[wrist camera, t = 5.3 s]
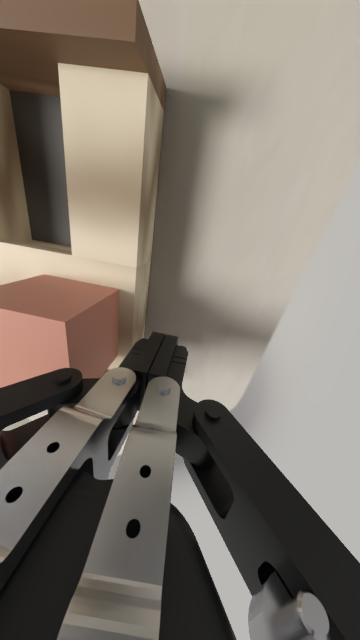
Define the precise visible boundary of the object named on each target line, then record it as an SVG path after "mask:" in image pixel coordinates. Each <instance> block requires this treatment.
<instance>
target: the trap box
mask: <svg viewBox="0 0 360 640" xmlns="http://www.w3.org/2000/svg"><path fill="white" fill-rule="evenodd" d="M165 97H166V85H165V82H164V78H163V75H162V72H161V69H160V66H159V63H158V60H157V57H156V54H155V51H154V47H153V44H152V41H151V38H150V35H149V32H148V29H147V26H146V23H145V20H144V16H143V13H142V10H141V7H140V4H139V1H138V0H0V285H3V284H7V283H11V282H15V281H19V280H23V279H27V278H31V277H35V276H39V275H43V274H46V275H51V276H56V277H61V278H66V279H71V280H76V281H81V282H86V283H91V284H96V285H101V286H106V287H111V288H116V289H119V324H118V356H117V357H116V358H115V360H114V361H113V362H112V363H111V365H110V366H109V367H108V369H107V370H106V371H105V373H106V372H107V371H109V370H111V369H113V368H118V367H119V365H120V364H121V363H122V361H123V360H124V358H125V357H126V355H127V354H128V353H129V351H130V350H131V348H132V347H133V345H134V344H135V343H136V342H137V341H139V340H140V339H142V338H144V333H145V322H146V310H147V299H148V288H149V277H150V266H151V254H152V243H153V232H154V221H155V209H156V198H157V187H158V176H159V164H160V153H161V142H162V131H163V119H164V108H165ZM105 373H104V374H105ZM104 374H103V375H104ZM103 375H102V376H103ZM102 376H101V377H102Z"/></svg>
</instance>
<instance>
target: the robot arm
mask: <svg viewBox="0 0 360 640" xmlns="http://www.w3.org/2000/svg"><path fill="white" fill-rule="evenodd" d="M178 338H179V337H177V336H172V335H167V334H162V333H157V332H153V333H152V334H151V336H150V338H149V339H144V338H142V339H140V340H139V341H137V342H136V343H135V344H134V345H133V347H132V348H131V350H130V351H129V353H128V354H127V355H126V357H125V358H124V360H123V361H122V363H121V364H120V365H119V367H118V368H113V369H111V370H109V371H107V372H106V373H105V374H104V375H103V376H102V377H101V378H84V379H83V378H82V373H81V372H80V371H79V370H77V369H75V368H62V369H58V370H55V371H52V372H49V373H45V374H42V375H39V376H36V377H33V378H30V379H27V380H24V381H20V382H17V383H14V384H11V385H8V386H5V387H2V388H0V640H236V637H235V635H234V632H233V630H232V627H231V625H230V622H229V620H228V617H227V615H226V612H225V610H224V607H223V605H222V602H221V600H220V597H219V595H218V592H217V590H216V587H215V585H214V582H213V580H212V577H211V575H210V572H209V570H208V567H207V565H206V562H205V560H204V557H203V555H202V552H201V550H200V547H199V545H198V542H197V540H196V537H195V535H194V533H193V532H192V529H191V528H190V526H189V524H188V522H187V521H186V520H185V518H184V517H183V515H182V514H181V513H180V512H179V510H178V509H177V508H176V507H175V506H174V505H172V504H171V503H170V501H171V491H172V480H173V470H174V460H175V452H176V453H177V454H179V455H180V456H182V457H183V458H184V463H185V465H186V467H187V469H188V471H189V473H190V475H191V477H192V479H193V481H194V483H195V485H196V487H197V489H198V491H199V493H200V495H201V497H202V499H203V501H204V503H205V505H206V506H207V509H208V511H209V512H210V514H211V516H212V518H213V520H214V522H215V524H216V526H217V528H218V530H219V532H220V534H221V536H222V538H223V540H224V542H225V544H226V546H227V548H228V550H229V552H230V553H231V555H232V557H233V559H234V561H235V563H236V565H237V567H238V569H239V571H240V573H241V575H242V577H243V579H244V581H245V583H246V585H247V587H248V589H249V590H250V592H251V595H252V599H251V602H250V607H249V614H248V621H249V622H248V623H249V633H250V639H251V640H360V563H359V562H358V561H357V560H356V559H355V557H354V556H353V555H352V554H351V553H350V551H349V550H348V549H347V548H346V547H345V546H344V544H343V543H342V542H341V541H340V540H339V539H338V537H337V536H336V535H335V534H334V533H333V532H332V530H331V529H330V528H329V527H328V526H327V525H326V524H325V522H324V521H323V520H322V519H321V518H320V517H319V515H318V514H317V513H316V512H315V511H314V510H313V508H312V507H311V506H310V505H309V504H308V503H307V501H306V500H305V499H304V498H303V497H302V496H301V494H300V493H299V492H298V491H297V490H296V489H295V488H294V486H293V485H292V484H291V483H290V482H289V480H288V479H287V478H286V477H285V476H284V475H283V474H282V472H281V471H280V470H279V469H278V468H277V467H276V465H275V464H274V463H273V462H272V461H271V460H270V458H269V457H268V456H267V455H266V454H265V453H264V452H263V450H262V449H261V448H260V447H259V446H258V444H257V443H256V442H255V441H254V440H253V439H252V438H251V436H250V435H249V434H248V433H247V432H246V430H245V429H244V428H243V427H242V426H241V425H240V424H239V422H238V421H237V420H236V419H235V418H234V416H233V415H232V414H231V413H230V412H229V411H228V410H227V408H226V407H225V406H224V405H222V404H221V403H219V402H217V401H214V400H202V401H200V402H199V403H197V402H195V401H193V400H192V399H190V398H189V397H187V396H186V395H185V393H184V392H183V390H182V381H183V377H184V372H185V366H186V361H187V356H188V351H187V349H186V347H183V346H178ZM44 410H48V414H47V415H45V416H43V417H40V418H38V419H36V420H34V421H31V422H29V423H27V424H25V425H22V426H20V427H18V428H15V429H13V430H10V431H2V429H4V428H5V427H7V426H9V425H11V424H14V423H16V422H18V421H21V420H23V419H25V418H28V417H30V416H33V415H35V414H37V413H40V412H42V411H44ZM137 410H139V414H138V417H137V420H136V423H135V425H133V419H134V417H135V415H136V412H137ZM129 431H130V432H129ZM128 433H129V435H128ZM127 435H128V438H127V441H126V444H125V447H124V450H123V453H122V456H121V459H120V462H119V465H118V468H117V471H116V474H115V477H114V479H111V480H108V476H109V472H110V469H111V467H112V465H113V463H114V461H115V459H116V457H117V455H118V453H119V451H120V449H121V447H122V445H123V443H124V441H125V439H126V437H127Z"/></svg>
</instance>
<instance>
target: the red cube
mask: <svg viewBox="0 0 360 640" xmlns="http://www.w3.org/2000/svg"><path fill="white" fill-rule="evenodd" d="M118 324H119V289H116V288H111V287H106V286H101V285H96V284H91V283H86V282H81V281H76V280H71V279H66V278H61V277H56V276H51V275H46V274H43V275H39V276H35V277H31V278H27V279H23V280H19V281H15V282H11V283H7V284H3V285H0V388H2V387H5V386H8V385H11V384H14V383H17V382H20V381H24V380H27V379H30V378H33V377H36V376H39V375H42V374H45V373H49V372H52V371H55V370H58V369H62V368H75V369H77V370H79V371H80V372H81V373H82V378H83V379H84V378H101V376H102V375H103V374H104V373H105V371H106V370H107V369H108V367H109V366H110V365H111V363H112V362H113V361H114V360H115V358H116V357H117V356H118Z"/></svg>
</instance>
